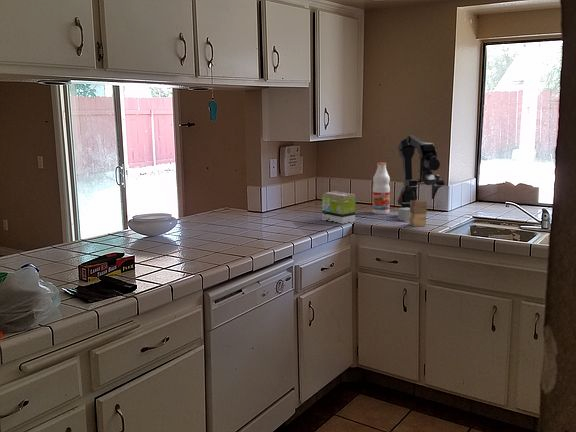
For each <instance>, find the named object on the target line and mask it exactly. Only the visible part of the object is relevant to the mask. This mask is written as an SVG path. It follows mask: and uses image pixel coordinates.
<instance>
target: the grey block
mask: <svg viewBox="0 0 576 432" xmlns="http://www.w3.org/2000/svg"><path fill="white" fill-rule="evenodd" d="M397 210H398V211H397V219H399V220H398V221H402V220H403V222H410V208H408V207H407V208H401V207H399V208H398V209H397Z"/></svg>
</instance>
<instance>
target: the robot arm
mask: <svg viewBox="0 0 576 432" xmlns="http://www.w3.org/2000/svg"><path fill="white" fill-rule="evenodd" d="M397 150H398V154H399V157H400V158H401V159H402V179H403V181H402V183H403V186H402V188H401V190H400V194H399V196H398V199H397V205H399V206H401V207H400V208H407V207H408V208H410V200H418V196H417V194H418V193H417V189H418V186H417V185H426V186H431V200H434V199H435V197H436V194H437V192H438V191H439V189H440V188H442V187H443V186H445V183H446V181H445V180H444V179H442V178H440V174H433V172H434V171H437V170H439V168H440V166H441V162H440V161H439V159H438V158H437V157H438V152H437V149H436V147H435V144H434V143H433V142H426V141H424V140H423V139H420V138H419V137H418V136H417V135H408V136H406V138H404V139H403V140H401V141H400V142H399V144H398V146H397ZM416 150H417V153H418V154H419V156H418V159H419V169H418V170H417V171H418V179H417V180H416V179H413V163H412V162H413V161H412V160H413V156H414V155H415V151H416Z"/></svg>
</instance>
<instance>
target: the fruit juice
mask: <svg viewBox="0 0 576 432" xmlns="http://www.w3.org/2000/svg"><path fill="white" fill-rule="evenodd" d="M376 165H377V168H376V171H375V174H374V176H373V179H372V181H373V186H372V208H371V209H372V213H373V214H374V213H375V214H376V215H387V214H390V204H391V199H390V198H391V197H390V196H391V187H390V181H391V177H390V175H389V172H388V171H387V162H377V164H376ZM375 214H374V215H375Z"/></svg>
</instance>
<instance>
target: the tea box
mask: <svg viewBox="0 0 576 432" xmlns="http://www.w3.org/2000/svg"><path fill="white" fill-rule="evenodd" d="M321 196H322V197H321V202H322V203H321V205H322V206H321V208H322V209H321V210H322V213H321V217H322V218H321V220H322V221H326V220H328V222H331V221H334V222H333V223H335V222H338V223H337V224H339V223H342V224H341V225H344V224H343V223H346V224H349V223H348V222H351V223H354V221H355V222H356V196H357V195H356V193H349V192H342V191H337V190H334V191H328V192H322V195H321Z"/></svg>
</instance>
